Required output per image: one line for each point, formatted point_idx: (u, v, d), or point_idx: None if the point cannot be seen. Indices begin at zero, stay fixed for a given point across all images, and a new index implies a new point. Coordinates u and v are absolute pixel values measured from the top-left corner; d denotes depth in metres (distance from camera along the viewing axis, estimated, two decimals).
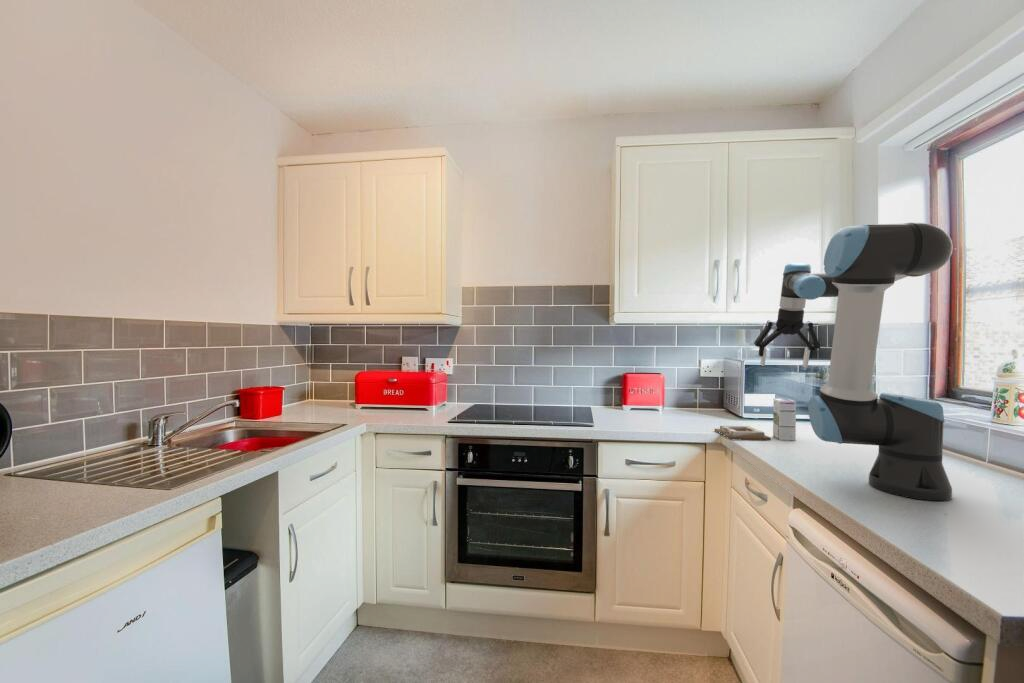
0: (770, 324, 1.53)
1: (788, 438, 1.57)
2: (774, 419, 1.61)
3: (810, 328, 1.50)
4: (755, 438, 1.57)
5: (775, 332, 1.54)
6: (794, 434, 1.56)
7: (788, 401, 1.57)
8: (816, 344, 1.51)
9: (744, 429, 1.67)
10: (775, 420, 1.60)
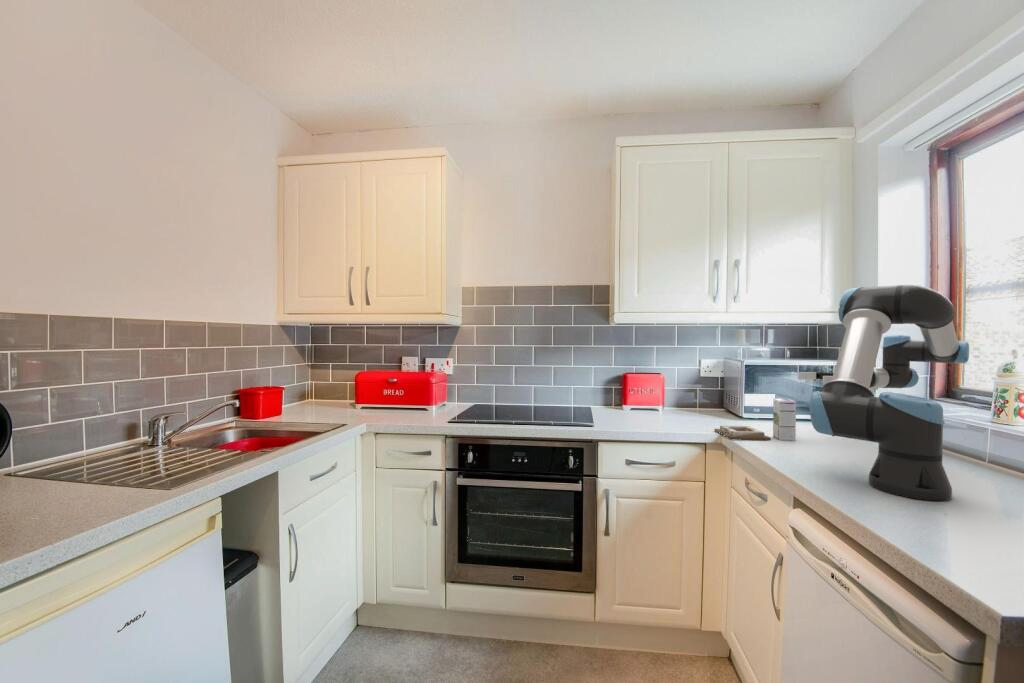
0: None
1: (788, 438, 1.57)
2: (774, 419, 1.61)
3: None
4: (755, 438, 1.57)
5: None
6: (794, 434, 1.56)
7: (788, 401, 1.57)
8: None
9: (744, 429, 1.67)
10: (775, 420, 1.60)
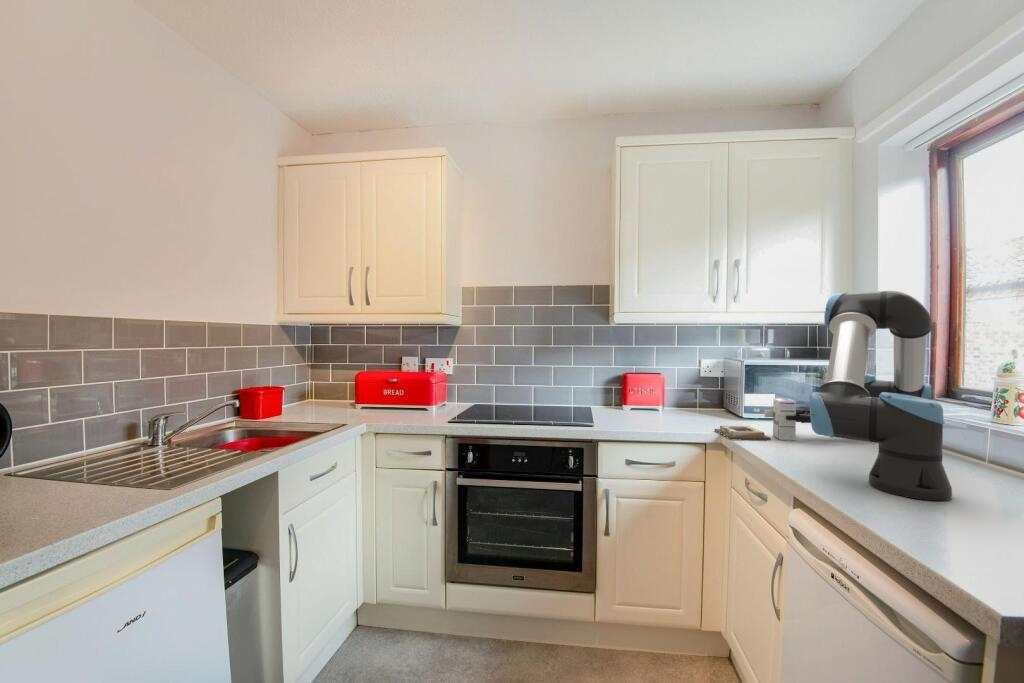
0: (804, 409, 1.65)
1: (788, 438, 1.57)
2: (774, 419, 1.61)
3: None
4: (755, 438, 1.57)
5: None
6: (794, 434, 1.56)
7: (788, 401, 1.57)
8: (805, 415, 1.53)
9: (744, 429, 1.67)
10: None
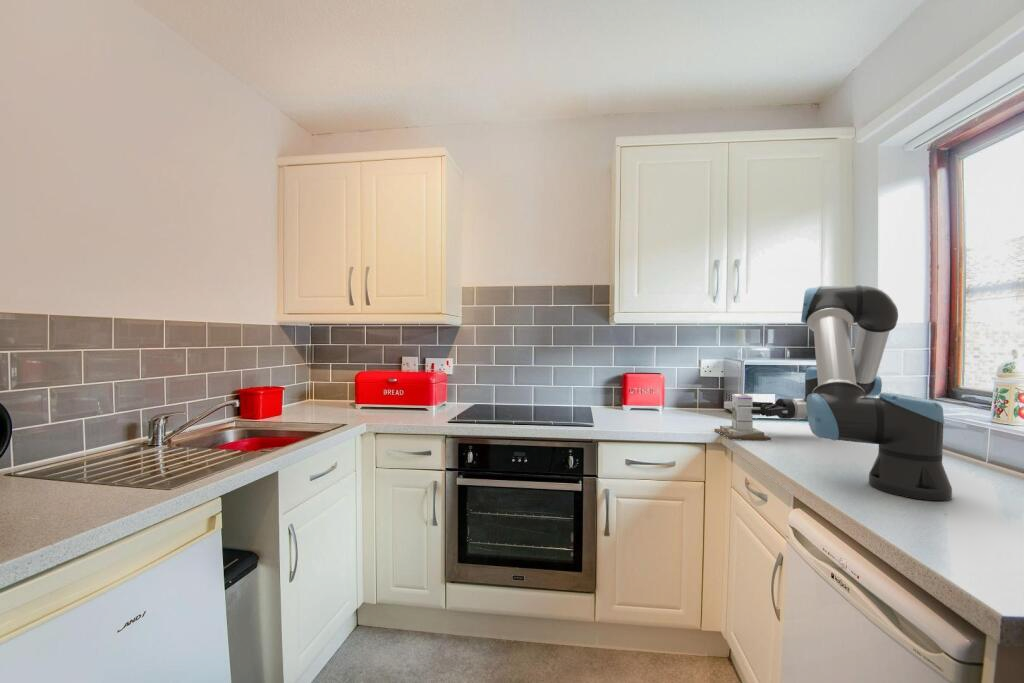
0: (765, 402, 1.69)
1: None
2: (732, 414, 1.65)
3: (781, 408, 1.57)
4: (755, 438, 1.57)
5: None
6: (751, 428, 1.60)
7: (745, 396, 1.61)
8: (769, 408, 1.55)
9: None
10: (733, 415, 1.64)
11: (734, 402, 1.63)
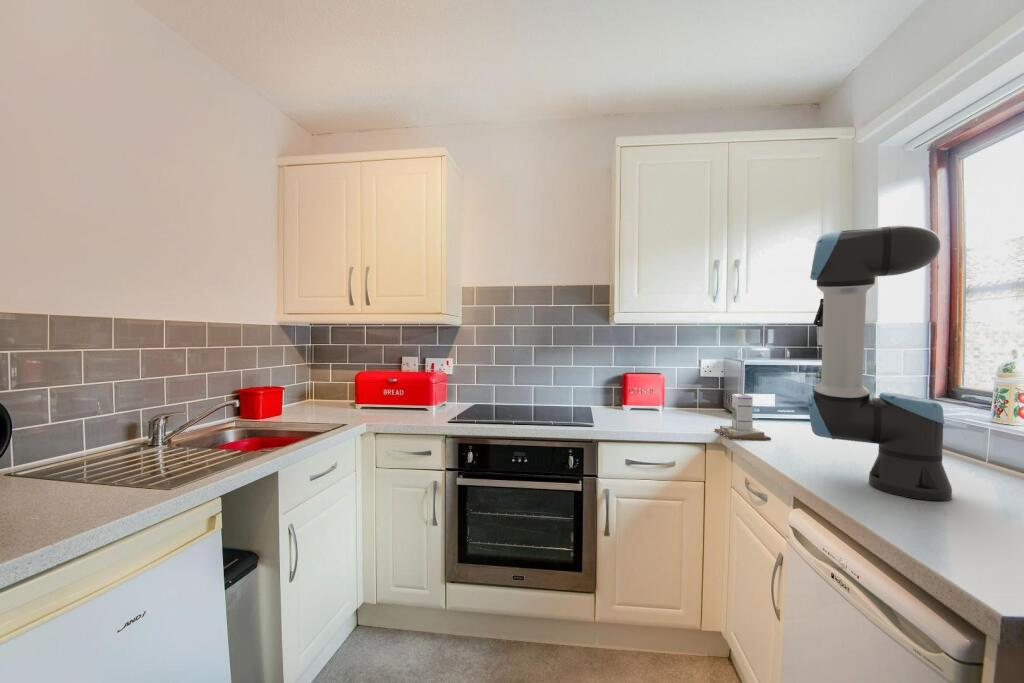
0: (821, 301, 1.53)
1: None
2: (732, 414, 1.65)
3: None
4: (755, 438, 1.57)
5: None
6: (751, 428, 1.60)
7: (745, 396, 1.60)
8: None
9: None
10: (733, 415, 1.64)
11: (734, 402, 1.63)
